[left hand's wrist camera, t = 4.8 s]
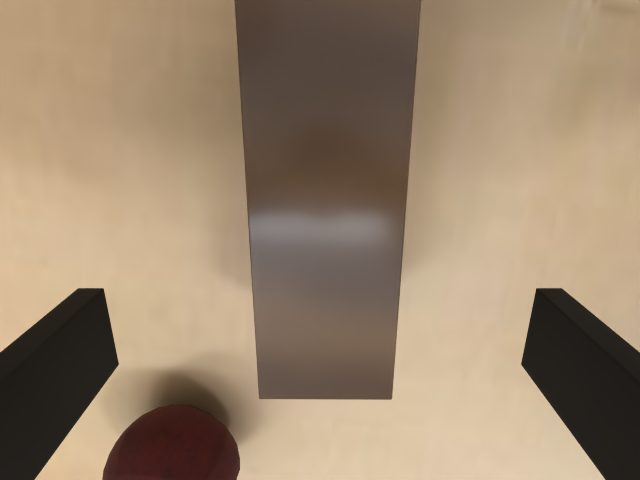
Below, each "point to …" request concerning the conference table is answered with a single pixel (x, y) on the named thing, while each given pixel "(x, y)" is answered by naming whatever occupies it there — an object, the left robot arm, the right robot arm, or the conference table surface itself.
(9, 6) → the conference table surface
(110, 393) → the conference table surface
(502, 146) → the conference table surface
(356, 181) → the post
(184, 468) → the dark red ball
